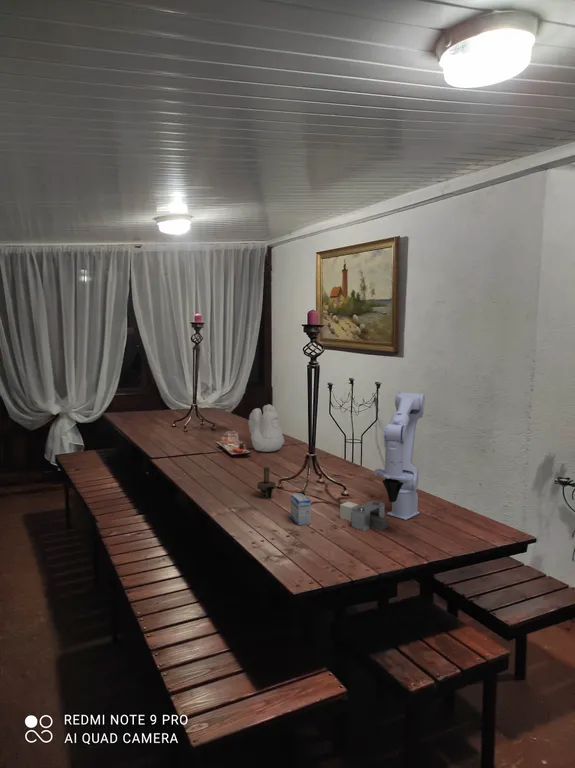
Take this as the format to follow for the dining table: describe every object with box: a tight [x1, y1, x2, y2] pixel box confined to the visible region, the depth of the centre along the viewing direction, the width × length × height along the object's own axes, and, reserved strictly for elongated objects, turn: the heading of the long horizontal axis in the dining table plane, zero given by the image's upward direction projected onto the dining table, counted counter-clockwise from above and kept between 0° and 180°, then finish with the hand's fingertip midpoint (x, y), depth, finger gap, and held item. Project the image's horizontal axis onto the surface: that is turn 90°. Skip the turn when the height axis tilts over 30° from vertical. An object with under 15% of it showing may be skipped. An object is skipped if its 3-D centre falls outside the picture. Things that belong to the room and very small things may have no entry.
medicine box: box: [290, 493, 312, 526], centre depth 193 cm, size 8×4×9 cm, turn 21°
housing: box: [351, 500, 386, 532], centre depth 191 cm, size 12×5×7 cm, turn 137°
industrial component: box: [256, 465, 277, 499], centre depth 219 cm, size 9×7×12 cm
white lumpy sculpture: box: [247, 403, 285, 453], centre depth 294 cm, size 25×16×25 cm, turn 25°
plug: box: [339, 501, 388, 531], centre depth 193 cm, size 4×17×5 cm, turn 47°
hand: (392, 501), depth 184 cm, fingers closed
